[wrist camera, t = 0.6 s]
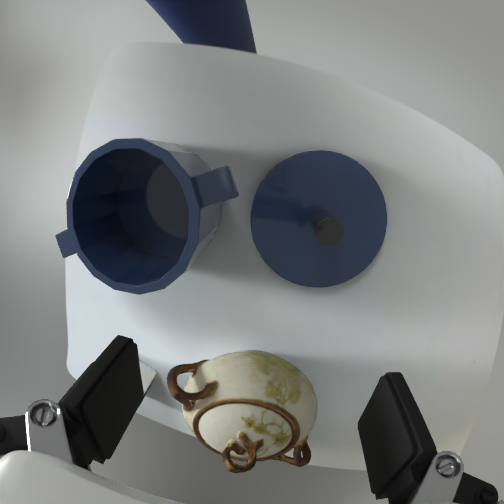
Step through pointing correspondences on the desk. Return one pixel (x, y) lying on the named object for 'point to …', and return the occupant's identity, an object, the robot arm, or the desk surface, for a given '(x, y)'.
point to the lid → (318, 218)
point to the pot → (143, 212)
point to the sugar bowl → (248, 407)
